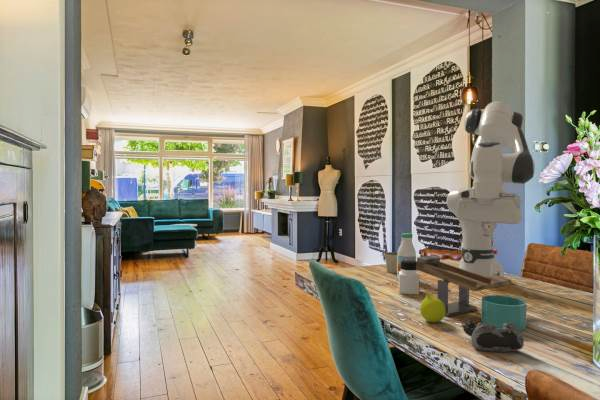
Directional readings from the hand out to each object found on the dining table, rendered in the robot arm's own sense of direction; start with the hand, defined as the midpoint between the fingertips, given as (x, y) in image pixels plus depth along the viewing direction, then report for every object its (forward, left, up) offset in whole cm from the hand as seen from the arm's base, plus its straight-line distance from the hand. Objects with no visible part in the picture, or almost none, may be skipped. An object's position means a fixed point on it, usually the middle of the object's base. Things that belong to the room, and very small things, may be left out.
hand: (487, 236), depth 130 cm
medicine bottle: (+4, -29, -24) cm, 38 cm away
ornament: (+25, -1, -24) cm, 34 cm away
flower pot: (-19, -59, -24) cm, 66 cm away
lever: (+5, -6, -14) cm, 16 cm away
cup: (+10, +12, -24) cm, 28 cm away
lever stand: (+10, -5, -24) cm, 26 cm away
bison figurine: (+28, +19, -24) cm, 41 cm away
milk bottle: (-10, -43, -24) cm, 50 cm away
